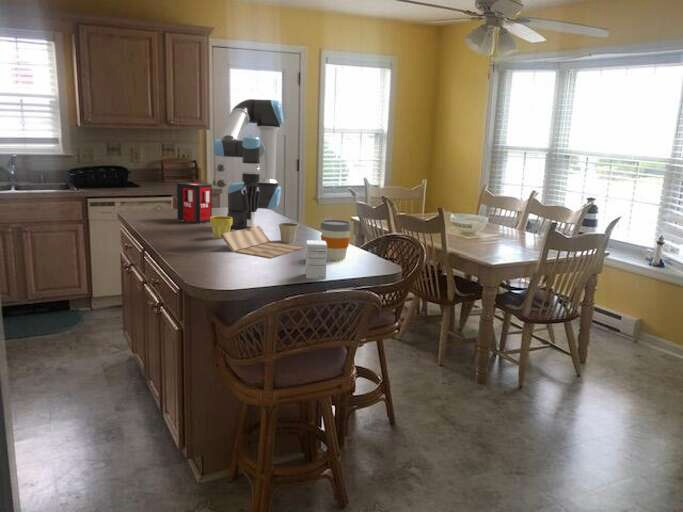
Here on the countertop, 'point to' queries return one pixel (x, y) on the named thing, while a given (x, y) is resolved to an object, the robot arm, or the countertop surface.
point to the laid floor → (270, 250)
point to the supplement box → (316, 259)
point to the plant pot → (220, 225)
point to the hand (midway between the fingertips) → (250, 226)
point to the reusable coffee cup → (336, 238)
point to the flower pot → (288, 232)
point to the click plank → (245, 238)
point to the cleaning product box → (194, 202)
